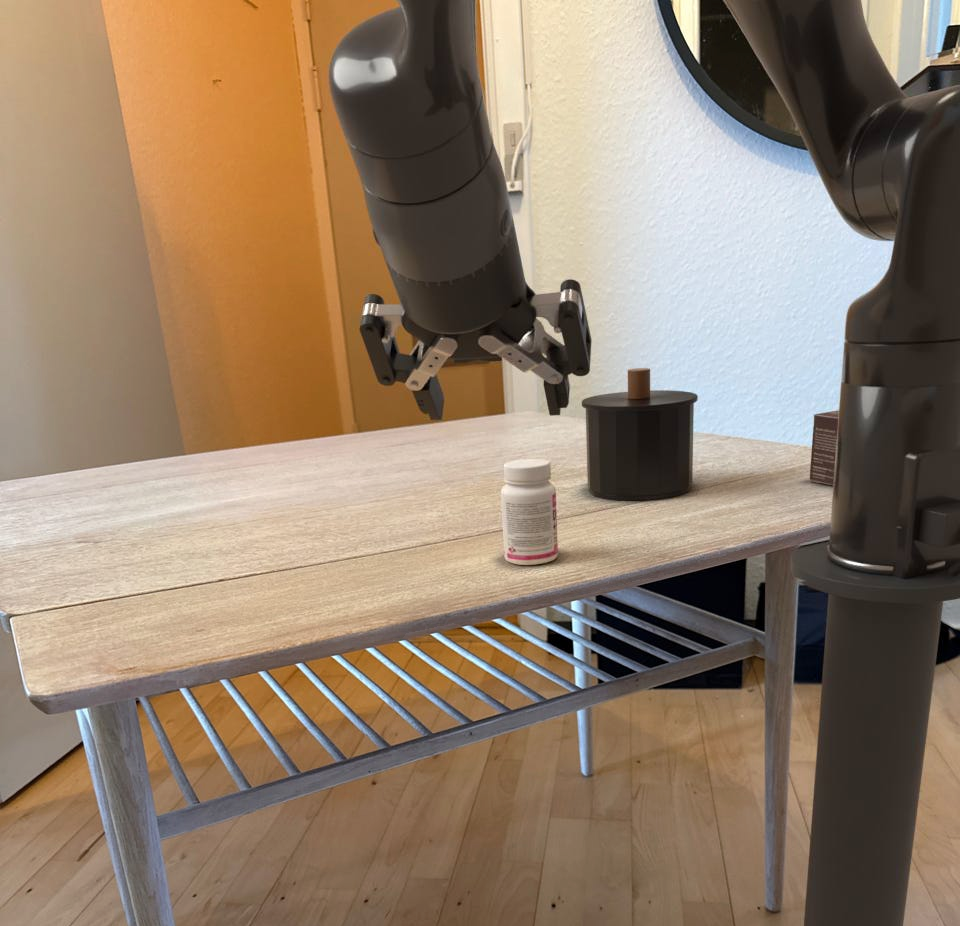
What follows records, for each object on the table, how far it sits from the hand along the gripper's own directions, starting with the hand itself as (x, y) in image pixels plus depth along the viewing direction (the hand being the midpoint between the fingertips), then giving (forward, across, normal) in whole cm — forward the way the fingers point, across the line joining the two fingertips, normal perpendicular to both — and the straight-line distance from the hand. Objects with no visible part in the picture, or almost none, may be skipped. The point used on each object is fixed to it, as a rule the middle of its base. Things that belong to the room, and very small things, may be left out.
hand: (496, 408), depth 65 cm
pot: (+37, -8, -17) cm, 42 cm away
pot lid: (+30, -8, -23) cm, 39 cm away
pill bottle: (+19, 0, +2) cm, 19 cm away
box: (+38, -31, -17) cm, 52 cm away
